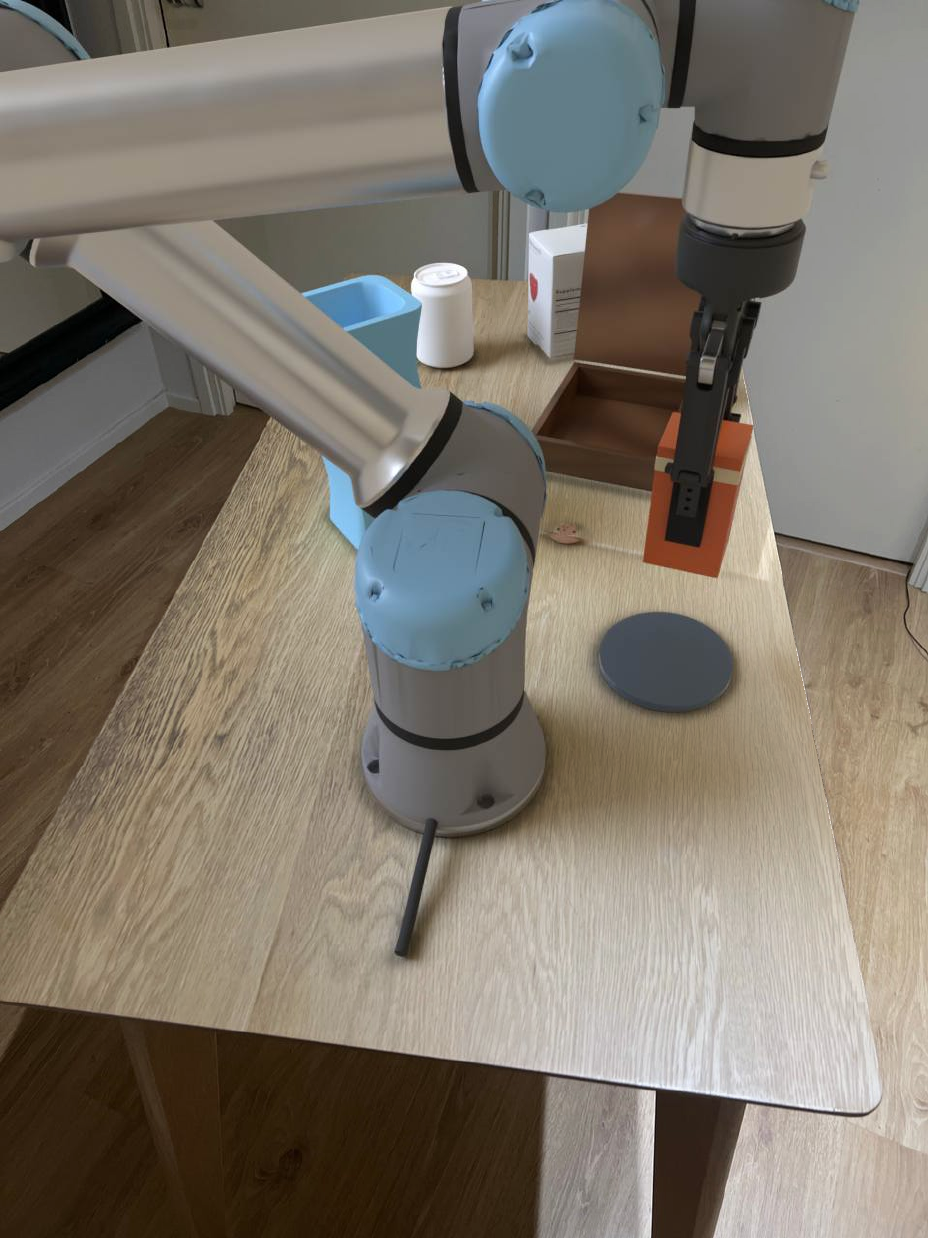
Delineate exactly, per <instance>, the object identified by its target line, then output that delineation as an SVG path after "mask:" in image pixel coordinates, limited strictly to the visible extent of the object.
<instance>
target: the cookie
mask: <svg viewBox="0 0 928 1238" xmlns="http://www.w3.org/2000/svg"><path fill="white" fill-rule="evenodd" d="M576 530H577V525H575V524H573V523H565V524H562V525H561V526H558V527H556V531H557V532H555V531H547V534H548V536H549V538H551V539H552V540H553V541H555V542H557V543H561V544H566V545H567V544H575V543H578V542H580V541H582V540H583V538H582V537H577V536H572V535H574V534H576V532H577V531H576Z"/></svg>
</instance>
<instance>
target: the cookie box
mask: <svg viewBox="0 0 928 1238" xmlns="http://www.w3.org/2000/svg"><path fill="white" fill-rule="evenodd" d="M680 416H681V413H677V412H673V413H672V415H671V418H670V420H669V422H668V425H667V427H666V429H665V432H664V434H663V436H662V439H661V441H660V443H659V446H658V452H657V456H656V461H655V474H654V481H653V489H652V492H651V495H650V498H651V499H650V505H649V510H648V511H649V512H648V519H647V526H646V533H645V534H646V535H645V542H644V549H643V556H642V563H644V564H648V565H654V566H658V567H663V568H667V569H671V570H677V571H681V572H685V573H691V574H695V575H700V576H703V577H704V576H705V577H708V578H714V579H718V578H719V575H720V572H721V568H722V564H723V562H724V558H725V555H726V552H727V547H728V544H729V539H730V535H731V530H732V527H733V522H734V518H735V513H736V512H735V511H736V509H737V503H738V500H739V495H740V490H741V484H742V482H743V476H744V471H745V467H746V462H747V458H748V455H749V451H750V447H751V443H752V437H753V436H752V434H753V431H754V424H750V423H743V422H739V423H737V422H731V421H725V420H723V421H722V426H721V431H720V436H719V440H718V445H717V450H716V455H715V459H714V464H713V470H714V471H715V473H714V479H713V484H712V489H711V495H710V500H709V505H708V510H707V516H706V521H705V526H704V531H703V536H702V542H701V545H700V548H698V547H693V546H688V545H684V544H679V543H674V542H669V541H664V540H665V533H666V527H667V520H668V514H669V507H670V501H671V494H672V488H673V481H671V480H670V478H671V476H670V474H667V473H664V471H665V467H666V465H667V463H668V462H670V463H673V462H674V455H675V449H676V442H677V436H678V429H679V423H680Z"/></svg>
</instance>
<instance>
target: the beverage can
mask: <svg viewBox="0 0 928 1238" xmlns="http://www.w3.org/2000/svg"><path fill="white" fill-rule="evenodd" d="M468 272H469V271H468V270H467V268H466V267H464V266H462V265H460V264H457V263H450V262H435V263H430V264H426V265H423V266H420V267H419V268H418V269H416V270H415V271H414V273H413V279H412V280H411V282H410V290H411V295H412V296H414V297H415V298H417V299H418V300H419V301H420V302H421V303H422V310H421V317H420V323H419V330H418V338H417V360H418V361H419V362H420V363H422V364H424V365H426V366H429V367H432V368H436V369H451V368H455V367H458V366H461V365H464V364H465V363H467V362H468V361H470V360H471V359H472V358H473V356H474V351H475V349H474V347H475V346H474V318H473V316H474V313H473V285H472V284H473V283H472V279H471V277H470V275H469V273H468Z"/></svg>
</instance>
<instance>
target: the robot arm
mask: <svg viewBox="0 0 928 1238" xmlns="http://www.w3.org/2000/svg"><path fill="white" fill-rule="evenodd" d="M860 4H861V2H860V0H481V1H477V2H473V3H469V4H465V5H464V4H463V5H458V6H452V5H451V6H444V7H443V6H442V7H437V8H430V9H423V10H416V11H410V12H403V13H396V14H389V15H382V16H376V17H369V18H362V19H355V20H354V19H353V20H349V21H348V20H347V21H341V22H335V23H329V24H328V23H327V24H321V25H314V26H308V27H301V28H294V29H287V30H281V31H274V32H267V33H259V34H253V35H245V36H240V37H233V38H232V37H231V38H226V39H225V38H224V39H218V40H213V41H211V40H210V41H204V42H198V43H197V42H196V43H191V44H185V45H178V46H169V47H163V48H158V49H151V50H143V51H136V52H131V53H123V54H117V55H116V54H115V55H110V56H103V57H96V58H91V56H90V55H89V54H88V52H87V51H86V50H85V48H84V47H83V46H82V44H81V43H80V42H79V40H77V38H76V37H75V36H74V35H73V34H72V33H71V32H70V31H69V30H68V29H66V28H65V27H64V26H63V25H62V24H61V23H60V22H59V21H57V20H56V19H55V18H53V17H52V16H51V15H49V14H48V13H46V12H44V11H43V10H41V9H40V8H38V7H36V6H34V5H32V4H30V3H28V2H26V1H23V0H0V264H3V263H8V262H10V261H13V260H15V259H16V258H17V257H19V256H20V258H22V259H24V260H25V261H26V262H27V263H29V264H30V265H31V266H32V267H34V268H35V269H38V270H39V269H55V268H68V269H69V268H70V269H74V270H75V271H76V272H78V273H79V274H80V275H82V276H83V277H84V278H86V279H87V280H89V282H91V283H92V284H94V285H95V286H96V287H97V288H99V289H100V290H101V291H102V292H104V293H105V294H107V295H108V296H109V297H111V298H112V299H114V300H115V302H118V303H119V304H120V305H122V306H123V307H124V308H126V309H127V310H128V311H129V312H130V313H132V314H133V315H134V316H136V317H137V318H138V319H140V320H141V321H143V322H144V323H145V324H147V325H148V326H149V327H151V328H152V329H153V330H155V331H156V332H157V333H158V334H160V335H161V336H162V337H164V338H165V339H167V340H168V341H169V342H171V343H172V344H173V345H175V346H176V347H177V348H178V349H180V350H181V351H183V352H184V353H185V354H186V355H188V356H189V357H191V358H192V359H193V360H195V362H197V363H198V364H199V365H201V366H202V367H204V368H205V369H207V370H208V371H209V372H210V373H212V374H213V375H214V376H215V377H217V378H218V379H220V380H221V381H222V382H224V383H225V384H226V385H228V386H229V387H231V389H233V390H234V391H236V392H237V393H238V394H239V395H241V396H242V397H244V398H245V399H246V400H248V401H249V402H250V403H252V404H253V405H254V406H255V407H257V408H258V409H260V410H261V411H262V412H263V413H265V414H266V415H268V416H269V417H270V418H271V419H273V420H274V421H275V422H277V423H278V424H279V425H281V426H282V427H283V428H285V429H286V430H287V431H289V432H290V433H292V434H293V435H294V436H295V437H297V438H298V439H299V440H301V441H302V442H303V443H305V444H306V445H307V446H309V447H310V448H311V449H313V451H315V452H316V453H318V454H319V455H322V456H323V457H325V458H326V459H327V460H329V461H330V462H331V463H333V464H334V465H335V466H337V467H338V468H339V469H341V470H342V471H343V472H345V473H346V474H347V475H349V477H350V479H351V484H352V490H353V496H354V502H355V504H356V505H357V506H358V507H360V508H361V509H362V510H364V511H365V512H366V513H368V514H369V515H370V516H372V517H373V518H374V519H375V520H374V522H373V523H372V524H371V525H370V526H369V528H368V529H367V531H366V532H365V534H364V536H363V538H362V540H361V542H360V545H359V548H358V550H357V552H356V556H355V567H354V573H355V574H354V583H353V584H354V585H353V588H354V593H355V607H356V609H357V615H358V617H359V619H360V624H361V625H360V626H361V630H362V635H363V637H362V638H363V643H364V648H365V655H366V660H367V665H368V666H367V667H368V671H369V677H370V683H371V689H372V695H373V705H372V707H371V710H370V714H369V717H368V718H367V723H366V726H365V729H364V732H363V735H362V740H361V751H360V752H361V754H360V755H361V756H360V761H361V769H362V775H363V779H364V784H365V785H366V789H367V791H368V793H369V796H370V797H371V798H372V800H373V801H374V803H375V805H377V807H378V808H379V809H380V810H381V811H382V812H383V813H384V814H385V815H386V816H388V817H389V818H390V819H391V820H393V821H394V822H396V823H398V824H399V825H401V826H403V827H405V828H407V829H410V830H412V831H415V832H418V833H421V834H422V837H421V841H420V846H419V849H418V853H417V859H416V862H415V866H414V870H413V875H412V879H411V882H410V883H411V884H410V887H409V892H408V896H407V900H406V905H405V909H404V912H403V913H404V914H403V918H402V922H401V926H400V930H399V934H398V938H397V940H396V944H395V949H394V954H395V955H396V956H398V957H401V958H405V957H406V956H408V952H409V950H410V949H409V948H410V945H411V941H412V937H413V933H414V928H415V924H416V920H417V916H418V911H419V908H420V902H421V898H422V894H423V888H424V885H425V879H426V876H427V872H428V867H429V863H430V858H431V854H432V850H433V846H434V842H435V837H444V838H457V837H458V838H459V837H467V836H473V835H476V834H482V833H484V832H488V831H491V830H493V829H495V828H497V827H500V826H502V825H503V824H505V823H507V822H509V821H511V820H512V819H513V818H515V817H516V816H517V815H518V814H520V813H521V812H522V811H523V810H524V809H525V808H526V807H527V806H528V805H529V804H530V803H531V801H532V800H533V799H534V797H535V795H536V794H537V792H538V790H539V788H540V787H541V784H542V781H543V778H544V774H545V769H546V757H547V755H546V752H547V751H546V741H545V735H544V730H543V728H542V727H543V726H542V725H541V722H540V720H539V717H538V715H537V714H536V713H535V710H534V708H533V705H532V703H531V701H530V698H529V697H528V695H527V693H526V690H525V681H526V676H525V675H526V637H527V623H528V622H527V621H528V613H529V606H530V605H529V604H530V597H531V590H532V583H533V577H534V576H533V574H534V568H535V564H536V558H537V552H538V551H537V550H538V544H539V538H540V537H539V535H540V529H541V521H542V518H543V515H544V512H545V508H546V504H547V499H548V498H547V496H548V493H547V490H548V489H547V488H548V485H547V473H546V472H547V471H546V469H545V461H544V457H543V453H542V450H541V448H540V445H539V443H538V441H537V439H536V437H535V436H534V434H533V433H532V431H531V430H532V429H531V428H530V427H529V426H528V425H527V424H526V423H525V422H524V421H523V420H522V419H521V418H519V417H518V416H517V415H516V414H515V413H513V412H512V411H510V410H508V409H507V408H505V407H503V406H502V405H501V406H500V405H499V404H496V403H494V402H493V403H492V402H490V401H484V402H482V403H481V402H474V401H473V400H471V399H467V400H461V399H460V398H459V397H458V396H456V395H455V393H453V392H452V391H450V390H449V389H448V388H446V387H445V386H436V387H435V386H434V387H425V388H422V389H418V388H416V387H413V386H412V385H411V384H410V383H409V382H407V381H406V380H405V379H404V378H403V377H401V376H400V375H399V374H398V373H396V372H395V371H394V370H393V369H392V368H390V367H389V366H388V365H387V364H386V363H384V362H383V361H382V360H381V359H380V358H378V357H377V356H376V355H375V354H373V353H372V352H371V351H370V350H369V349H367V348H366V347H365V346H364V345H363V344H361V343H360V342H359V341H358V340H356V339H355V338H354V337H353V336H352V335H350V334H349V333H348V332H347V331H346V330H344V329H343V328H342V327H341V326H340V325H338V324H337V323H336V322H335V321H333V320H332V319H331V318H330V317H329V316H327V315H326V314H325V313H324V312H323V311H321V310H320V309H319V308H318V307H317V306H315V305H314V304H313V303H312V302H310V301H309V300H308V299H307V298H306V297H304V296H303V295H302V294H301V293H302V292H300V291H299V290H297V289H296V288H295V287H294V286H292V285H291V284H290V283H289V282H288V281H287V280H285V279H284V278H283V277H281V276H280V275H279V274H278V273H277V272H276V271H274V270H273V269H272V268H270V266H268V265H267V264H266V263H264V261H262V260H261V259H260V258H259V257H257V255H255V254H254V253H252V252H251V251H250V250H249V249H248V248H247V247H246V246H244V245H243V244H242V243H240V242H239V241H238V240H237V239H235V237H233V236H232V235H231V234H230V233H228V232H227V231H226V230H225V229H224V228H223V227H222V226H220V225H219V224H218V223H216V221H218V220H227V219H228V220H229V219H239V218H246V217H255V216H257V217H258V216H267V215H274V214H284V213H285V214H286V213H294V212H303V211H313V210H322V209H323V210H324V209H332V208H342V207H351V206H361V205H371V204H381V203H390V202H399V201H407V200H408V201H409V200H417V199H427V198H436V197H447V196H455V195H467V194H475V193H484V192H496V191H497V192H498V191H507V192H509V193H510V194H511V195H512V196H513V197H515V198H516V199H519V200H521V201H522V202H524V203H525V204H527V205H530V206H532V207H534V208H537V209H540V210H544V211H547V212H552V213H559V214H560V213H561V214H568V213H569V214H570V213H577V212H581V211H586V210H589V209H590V208H592V207H595V206H597V205H600V204H602V203H603V202H605V201H607V200H608V199H610V198H612V197H613V196H614V195H615V194H617V193H618V192H621V191H622V190H623V189H624V188H625V187H626V186H627V185H628V184H629V183H630V182H631V181H632V180H633V178H634V177H635V176H636V175H637V174H638V172H639V171H640V169H641V167H642V166H643V164H644V163H645V161H646V159H647V157H648V155H649V152H650V151H651V148H652V146H653V142H654V140H655V137H656V133H657V130H658V128H659V123H660V118H661V117H660V116H661V109H681V108H694V120H693V123H692V128H691V133H690V137H689V145H688V152H687V160H686V167H685V174H684V183H683V189H682V190H683V191H682V197H681V198H682V206H683V208H684V209H685V210H686V212H687V213H686V214H685V215H684V216H683V217H682V219H681V221H680V228H679V236H678V243H677V251H676V259H675V274H676V276H677V278H678V279H679V281H680V282H681V283H682V284H683V285H685V286H686V287H687V288H689V289H691V290H695V291H697V292H698V293H700V294H701V295H702V296H701V299H700V303H699V308H698V311H694V313H693V317H692V322H691V327H690V333H689V335H690V338H691V341H692V343H691V349H690V353H689V356H687V359H686V364H687V370H686V376H685V379H686V382H685V390H684V397H683V403H682V410H681V416H680V423H679V429H678V436H677V442H676V449H675V455H674V462H673V463H670V462H668V463H667V465H666V467H665V471H664V473H667V474H670V476H671V478H670V480H671V481H673V488H672V494H671V501H670V507H669V514H668V520H667V527H666V533H665V540H664V541H669V542H674V543H679V544H684V545H688V546H693V547H698V548H700V545H701V542H702V536H703V531H704V526H705V521H706V516H707V510H708V505H709V500H710V495H711V489H712V484H713V479H714V473H715V471H714V470H713V464H714V459H715V455H716V450H717V445H718V440H719V436H720V431H721V426H722V421H723V420H725V421H731V422H737V423H741V417H742V414H741V413H736V412H732V411H733V408H734V406H735V404H736V403H737V401H738V395H737V393H738V388H739V383H740V377H741V373H742V368H743V365H744V360H746V358H747V357H748V354H749V349H750V346H751V343H752V340H753V337H754V332H755V331H754V330H755V329H756V327H757V324H758V321H759V317H760V314H761V309H762V304H763V303H762V301H757V300H756V299H757V298H758V299H765V298H769V297H773V296H775V295H777V294H780V293H783V291H786V290H787V289H788V288H789V287H790V286H791V285H792V284H793V282H794V281H795V279H796V275H797V271H798V267H799V263H800V258H801V253H802V249H803V244H804V240H805V235H806V231H807V227H806V224H805V222H804V221H803V218H805V217H806V216H807V215H808V214H809V211H810V209H811V205H812V201H813V196H814V192H815V187H816V180H825V179H826V178H828V177H829V176H830V174H831V170H832V167H831V162H830V161H828V160H819V158H820V157H821V155H822V154H823V151H824V144H825V142H826V138H827V134H828V131H829V130H828V129H829V125H830V120H831V116H832V112H833V109H834V108H833V107H834V105H835V104H834V103H835V99H836V95H837V91H838V86H839V82H840V79H841V74H842V69H843V65H844V62H845V56H846V53H847V49H848V44H849V40H850V37H851V32H852V28H853V23H854V19H855V14H856V13H858V11H859V8H860ZM322 456H321V457H322Z"/></svg>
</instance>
